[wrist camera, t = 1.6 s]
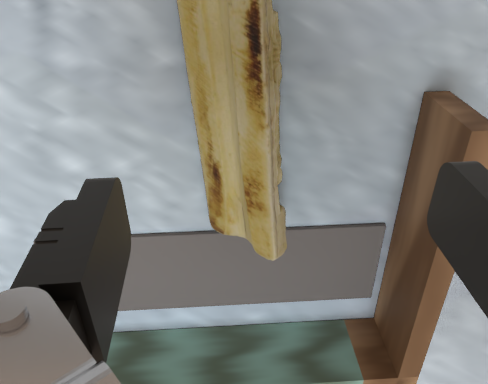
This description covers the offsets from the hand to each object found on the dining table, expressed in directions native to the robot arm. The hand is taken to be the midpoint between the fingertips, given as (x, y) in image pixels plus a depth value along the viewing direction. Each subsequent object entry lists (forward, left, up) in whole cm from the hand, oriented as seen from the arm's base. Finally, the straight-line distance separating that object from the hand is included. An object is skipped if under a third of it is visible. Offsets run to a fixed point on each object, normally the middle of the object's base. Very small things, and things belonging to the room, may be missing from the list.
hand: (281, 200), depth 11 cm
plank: (+1, 0, -15) cm, 15 cm away
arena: (0, +13, -15) cm, 20 cm away
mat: (+2, +16, -15) cm, 22 cm away
